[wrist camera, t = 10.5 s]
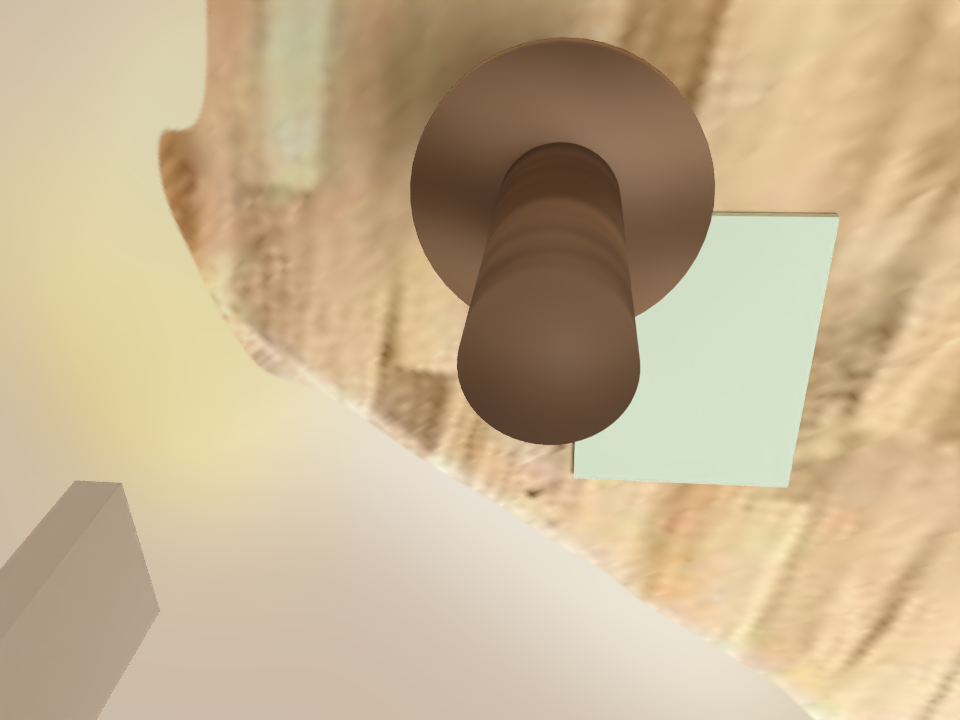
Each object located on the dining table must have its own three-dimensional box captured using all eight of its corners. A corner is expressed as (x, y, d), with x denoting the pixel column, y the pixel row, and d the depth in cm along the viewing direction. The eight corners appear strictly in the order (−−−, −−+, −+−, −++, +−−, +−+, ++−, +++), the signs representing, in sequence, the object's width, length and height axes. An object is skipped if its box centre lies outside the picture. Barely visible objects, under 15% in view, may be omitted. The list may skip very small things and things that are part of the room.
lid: (404, 39, 27) (294, 143, 17) (727, 35, 26) (822, 142, 16) (424, 320, 32) (348, 534, 22) (695, 325, 31) (753, 553, 21)
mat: (582, 210, 42) (583, 214, 41) (837, 213, 40) (839, 217, 40) (573, 472, 50) (573, 478, 49) (785, 482, 48) (787, 487, 48)
